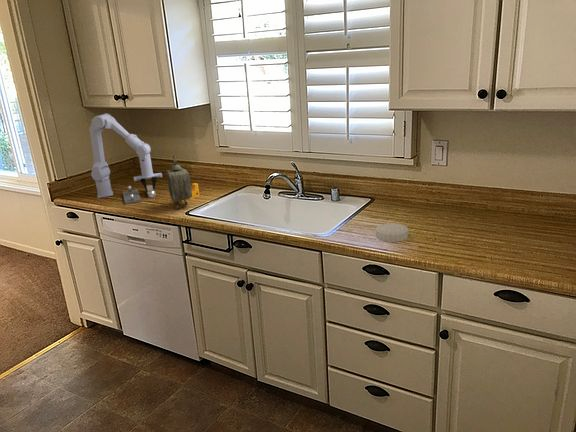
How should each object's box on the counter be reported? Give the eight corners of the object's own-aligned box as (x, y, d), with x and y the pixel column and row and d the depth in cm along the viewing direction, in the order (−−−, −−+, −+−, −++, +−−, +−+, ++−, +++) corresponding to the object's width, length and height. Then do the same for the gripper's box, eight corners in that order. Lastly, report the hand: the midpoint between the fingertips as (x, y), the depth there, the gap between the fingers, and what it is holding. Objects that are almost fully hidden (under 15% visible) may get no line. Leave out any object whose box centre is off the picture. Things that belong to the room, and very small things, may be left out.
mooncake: (405, 243, 170) (405, 234, 169) (372, 240, 175) (372, 231, 174) (410, 231, 181) (410, 223, 179) (379, 229, 185) (379, 220, 184)
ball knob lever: (145, 191, 260) (144, 185, 259) (153, 190, 261) (152, 184, 260) (148, 198, 247) (147, 192, 246) (156, 197, 248) (155, 191, 247)
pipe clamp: (193, 194, 248) (192, 182, 246) (199, 195, 245) (198, 183, 243) (176, 201, 239) (174, 188, 237) (182, 202, 236) (180, 189, 234)
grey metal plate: (122, 193, 260) (121, 186, 258) (137, 190, 262) (136, 184, 261) (125, 204, 239) (123, 196, 238) (141, 201, 242) (140, 194, 240)
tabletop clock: (170, 203, 236) (163, 153, 228) (188, 200, 239) (182, 151, 231) (175, 211, 223) (167, 159, 215) (194, 207, 226) (187, 156, 218)
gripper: (132, 170, 243) (137, 195, 248) (161, 166, 248) (165, 191, 252) (131, 167, 249) (136, 192, 254) (159, 164, 254) (163, 188, 258)
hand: (150, 191), depth 253 cm, fingers closed on ball knob lever, 3 cm apart
